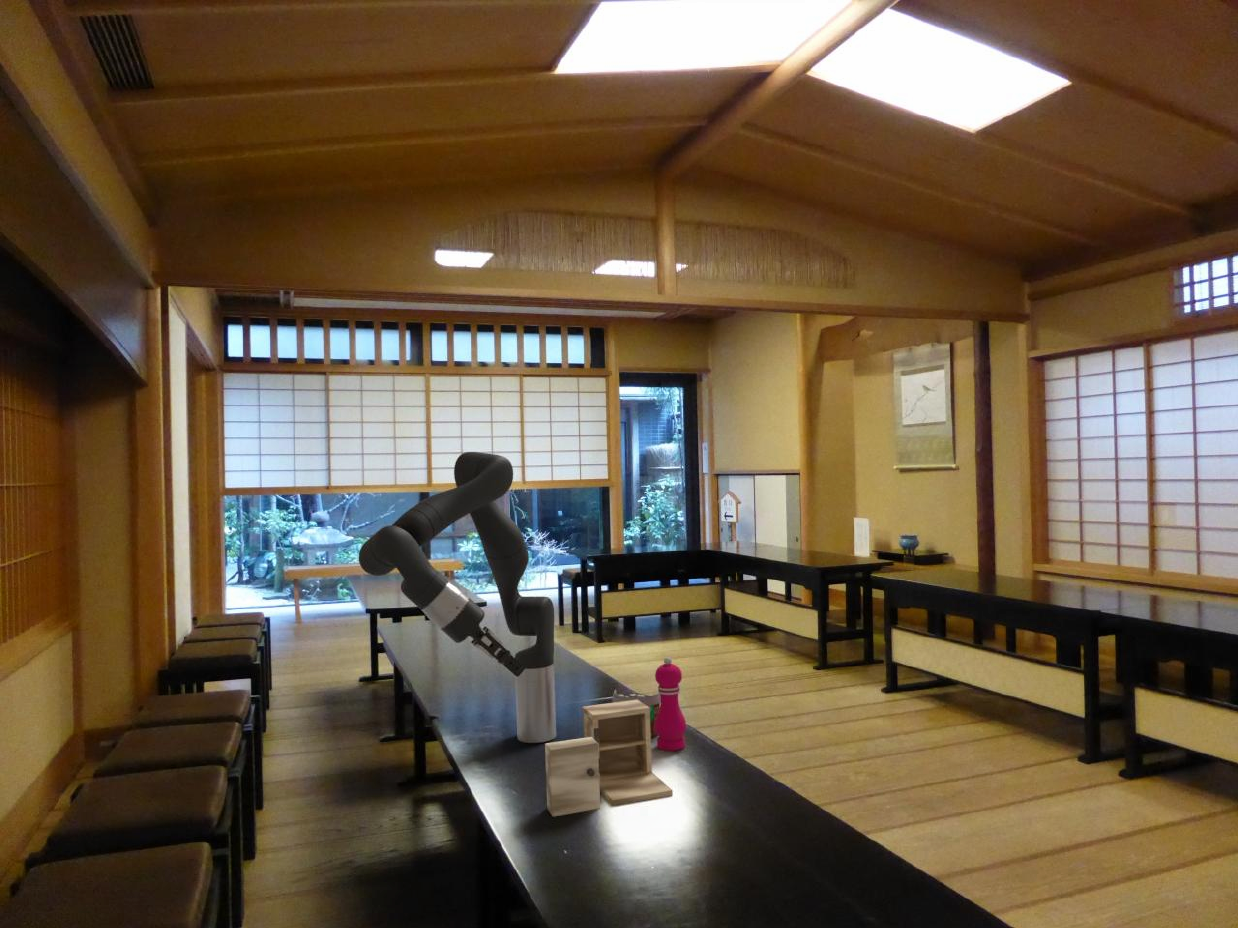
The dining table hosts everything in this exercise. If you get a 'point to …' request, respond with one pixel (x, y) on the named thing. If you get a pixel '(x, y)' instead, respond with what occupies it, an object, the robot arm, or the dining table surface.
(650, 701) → the food container
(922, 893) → the dining table surface
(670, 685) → the pepper mill
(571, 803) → the door
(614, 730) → the cabinet
